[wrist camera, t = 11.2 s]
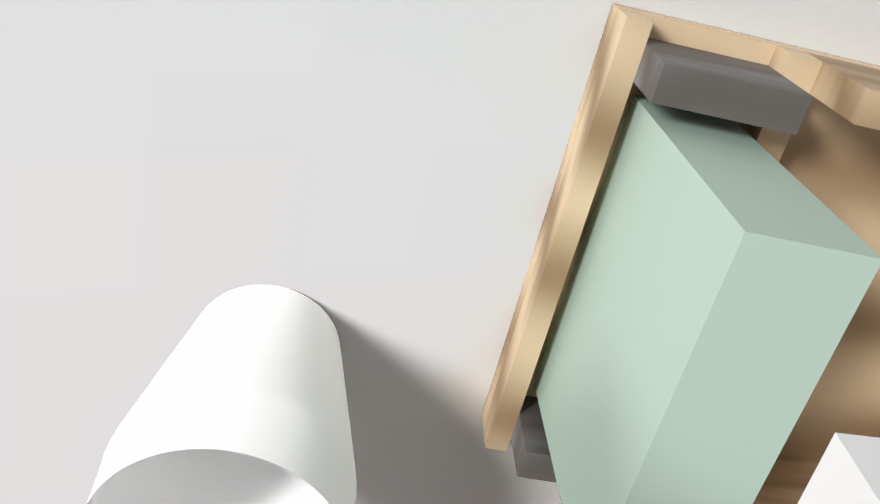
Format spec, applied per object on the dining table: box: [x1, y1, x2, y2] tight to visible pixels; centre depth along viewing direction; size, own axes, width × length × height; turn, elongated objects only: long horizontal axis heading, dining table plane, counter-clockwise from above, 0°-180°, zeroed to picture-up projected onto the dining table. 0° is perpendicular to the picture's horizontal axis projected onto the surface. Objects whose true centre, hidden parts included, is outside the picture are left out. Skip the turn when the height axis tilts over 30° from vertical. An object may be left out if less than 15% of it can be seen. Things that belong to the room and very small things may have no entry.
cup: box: [87, 285, 357, 504], centre depth 33 cm, size 9×9×12 cm
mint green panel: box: [534, 95, 880, 504], centre depth 30 cm, size 14×4×12 cm, turn 167°
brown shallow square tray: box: [482, 3, 880, 504], centre depth 35 cm, size 20×20×6 cm
